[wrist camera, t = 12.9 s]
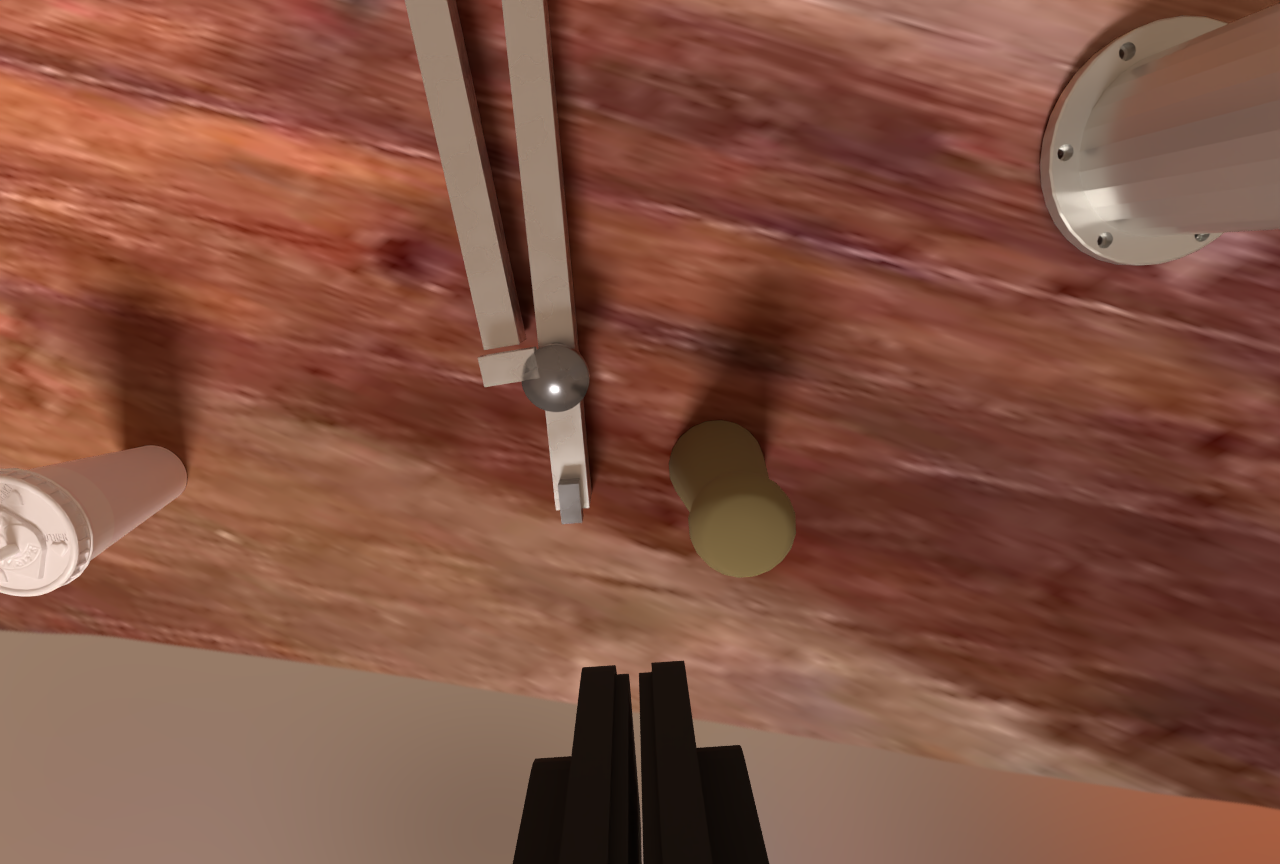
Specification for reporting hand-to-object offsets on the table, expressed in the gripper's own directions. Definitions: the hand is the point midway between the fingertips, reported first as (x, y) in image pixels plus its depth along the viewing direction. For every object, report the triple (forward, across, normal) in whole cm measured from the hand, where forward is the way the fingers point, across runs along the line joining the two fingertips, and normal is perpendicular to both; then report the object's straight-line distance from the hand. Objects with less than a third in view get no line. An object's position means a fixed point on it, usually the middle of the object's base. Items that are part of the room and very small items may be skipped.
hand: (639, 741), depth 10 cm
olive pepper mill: (+29, -5, +5) cm, 30 cm away
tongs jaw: (+29, +6, -12) cm, 32 cm away
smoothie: (+29, +30, +3) cm, 42 cm away
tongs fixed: (+29, +4, -9) cm, 31 cm away
